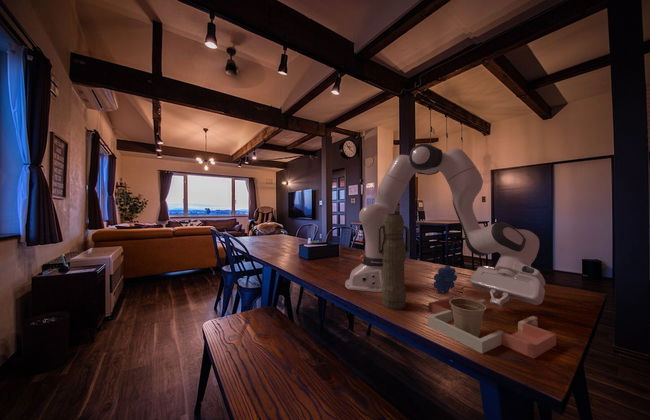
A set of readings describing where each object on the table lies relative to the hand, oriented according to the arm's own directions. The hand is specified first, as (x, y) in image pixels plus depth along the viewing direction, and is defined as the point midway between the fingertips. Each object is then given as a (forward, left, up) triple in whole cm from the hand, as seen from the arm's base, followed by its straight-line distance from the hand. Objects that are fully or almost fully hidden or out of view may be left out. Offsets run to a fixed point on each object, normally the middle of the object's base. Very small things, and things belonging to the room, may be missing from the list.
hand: (495, 304), depth 77 cm
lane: (+3, +2, -5) cm, 6 cm away
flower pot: (-12, -8, -6) cm, 16 cm away
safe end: (-13, -9, -5) cm, 17 cm away
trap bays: (-5, -4, -5) cm, 8 cm away
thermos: (-30, +10, -6) cm, 33 cm away
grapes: (-6, +26, -6) cm, 28 cm away
